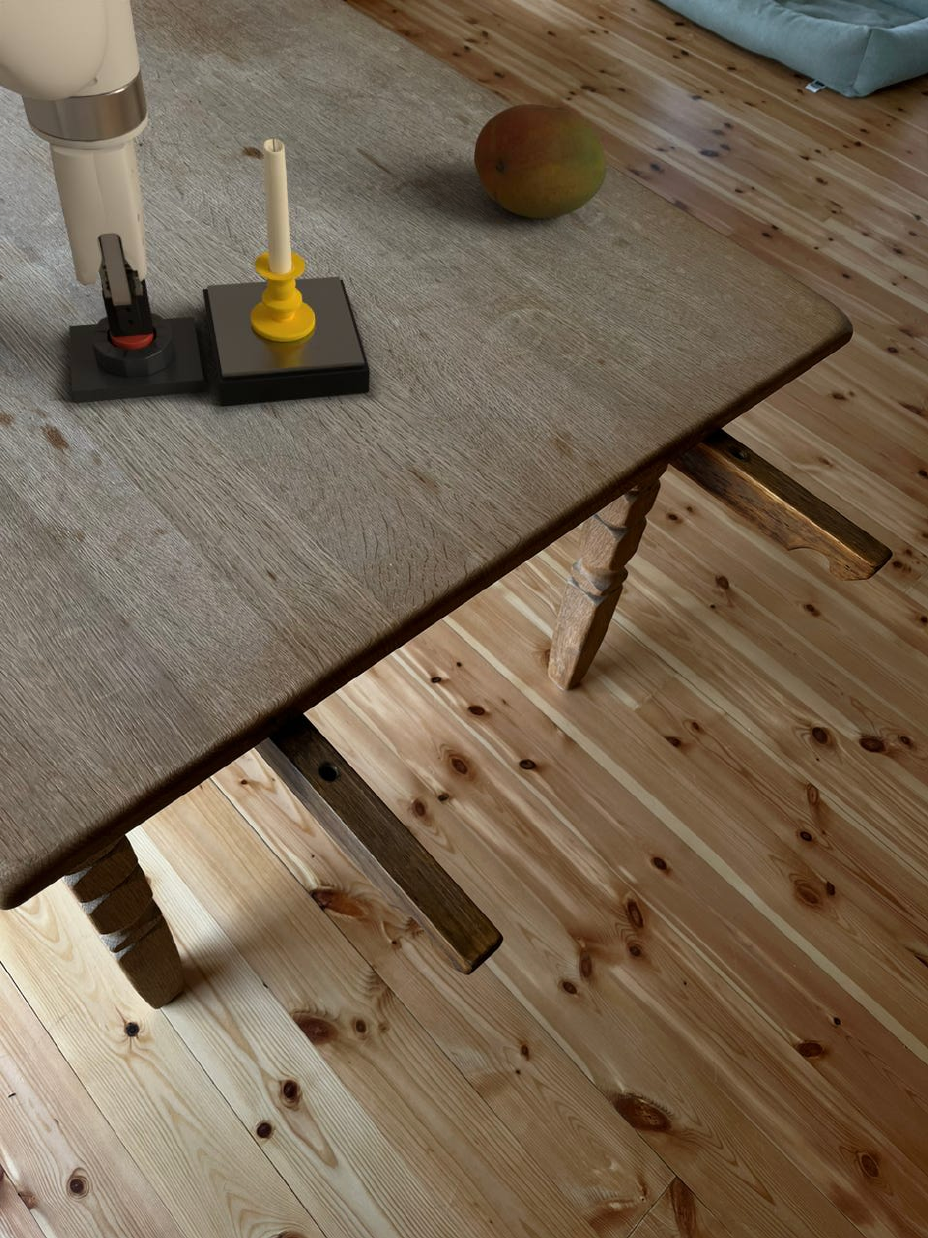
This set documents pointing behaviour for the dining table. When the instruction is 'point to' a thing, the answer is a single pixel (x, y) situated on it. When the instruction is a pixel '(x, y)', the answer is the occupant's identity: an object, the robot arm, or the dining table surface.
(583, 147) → the fruit
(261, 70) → the dining table surface
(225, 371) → the scale
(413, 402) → the dining table surface
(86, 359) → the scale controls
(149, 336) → the button
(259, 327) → the candle
